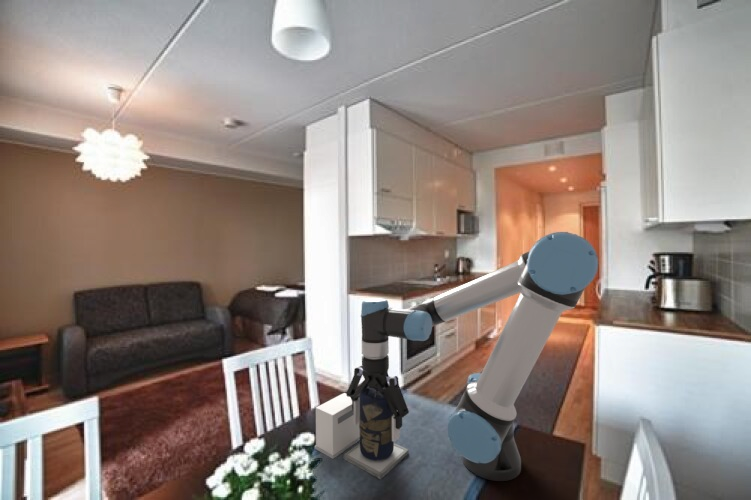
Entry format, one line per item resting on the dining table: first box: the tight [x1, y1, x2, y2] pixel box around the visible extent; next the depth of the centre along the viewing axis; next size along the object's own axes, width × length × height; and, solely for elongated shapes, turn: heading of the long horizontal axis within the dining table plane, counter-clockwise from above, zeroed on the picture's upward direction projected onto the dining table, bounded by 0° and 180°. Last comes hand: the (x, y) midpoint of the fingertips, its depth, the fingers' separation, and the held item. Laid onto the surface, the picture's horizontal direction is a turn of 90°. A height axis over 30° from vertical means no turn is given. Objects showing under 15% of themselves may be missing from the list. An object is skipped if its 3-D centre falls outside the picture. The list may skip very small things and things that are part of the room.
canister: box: [359, 387, 395, 460], centre depth 91 cm, size 10×10×18 cm
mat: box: [342, 442, 410, 480], centre depth 91 cm, size 13×13×1 cm
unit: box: [314, 392, 360, 460], centre depth 97 cm, size 8×13×12 cm, turn 142°
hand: (376, 430), depth 91 cm, fingers open, 13 cm apart
